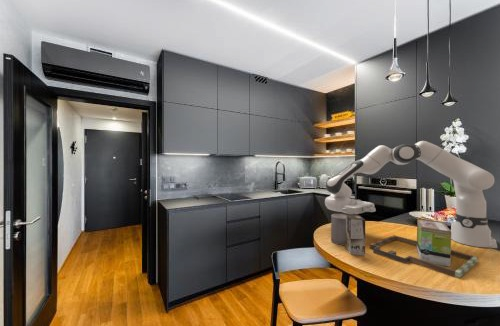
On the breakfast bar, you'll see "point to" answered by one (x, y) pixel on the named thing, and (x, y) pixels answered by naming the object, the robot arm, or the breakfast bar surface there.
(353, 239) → the coffee box
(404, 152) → the robot arm
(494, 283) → the breakfast bar surface
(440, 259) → the tea box
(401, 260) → the channel
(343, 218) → the pillar candle
